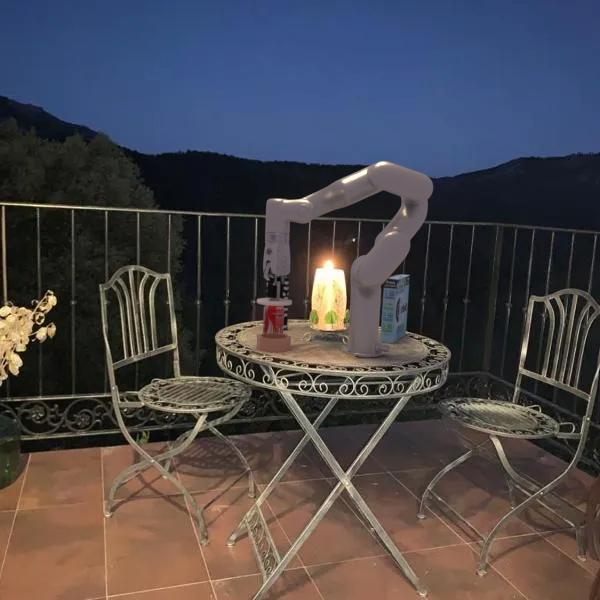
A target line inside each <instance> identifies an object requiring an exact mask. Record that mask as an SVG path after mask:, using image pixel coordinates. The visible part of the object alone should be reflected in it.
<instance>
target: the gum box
mask: <svg viewBox="0 0 600 600" xmlns="http://www.w3.org/2000/svg"><path fill="white" fill-rule="evenodd" d="M410 275H411V274H403V273H402V274H399V273H398V274H395V275H390V276H389V277H388V279H387V280H386V281H385V282H384V283H383V295H382V296H383V297H382V309H381V311H382V313H381V324H380V325H381V326H380V339H379V340H381V343H386V344H394V343H395V342H397V341H398V340H400V339H401V338H402V337H404V336H405V335H406V334H407V322H408V320H407V319H408V306H409V290H410V281H411V279H410V278H411V276H410Z"/></svg>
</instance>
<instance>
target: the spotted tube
mask: <svg viewBox="0 0 600 600" xmlns="http://www.w3.org/2000/svg"><path fill="white" fill-rule="evenodd" d="M278 277H279V276H278ZM272 278H273V277H272ZM289 290H290V277H289V276H286V277H285V279H284V284H283V297H280V298H282V299H289V296H290V295H289V292H290V291H289ZM266 298H268V297H267V296H266ZM283 307H284V330H283V332H285V330H286V331H288V320H289V305H288V306H283Z"/></svg>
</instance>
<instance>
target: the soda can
mask: <svg viewBox="0 0 600 600" xmlns="http://www.w3.org/2000/svg"><path fill="white" fill-rule="evenodd" d="M263 306H264V307H263V318H262V319H263V320H262V321H263V322H262V325H263V326H262V333H281V334H284V331H283V330H284V307H283V306H269V305H263Z"/></svg>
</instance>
